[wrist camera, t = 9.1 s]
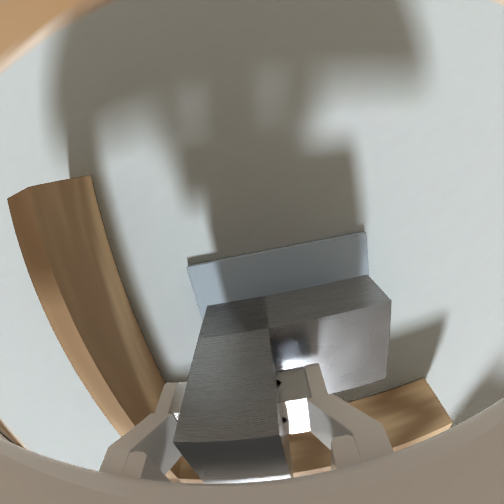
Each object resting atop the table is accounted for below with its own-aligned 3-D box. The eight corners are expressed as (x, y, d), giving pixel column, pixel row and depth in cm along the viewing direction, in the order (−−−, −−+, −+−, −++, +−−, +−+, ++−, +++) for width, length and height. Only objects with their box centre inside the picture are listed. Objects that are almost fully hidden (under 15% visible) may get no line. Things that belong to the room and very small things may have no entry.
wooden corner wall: (177, 435, 19) (166, 486, 14) (69, 183, 13) (7, 198, 8) (420, 390, 18) (446, 434, 13) (429, 113, 12) (491, 104, 7)
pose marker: (217, 358, 16) (216, 362, 16) (187, 265, 14) (186, 267, 14) (367, 329, 16) (369, 332, 15) (364, 231, 14) (366, 233, 13)
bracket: (229, 374, 13) (219, 500, 7) (207, 305, 12) (172, 442, 5) (367, 346, 13) (425, 456, 6) (366, 274, 12) (457, 380, 5)
